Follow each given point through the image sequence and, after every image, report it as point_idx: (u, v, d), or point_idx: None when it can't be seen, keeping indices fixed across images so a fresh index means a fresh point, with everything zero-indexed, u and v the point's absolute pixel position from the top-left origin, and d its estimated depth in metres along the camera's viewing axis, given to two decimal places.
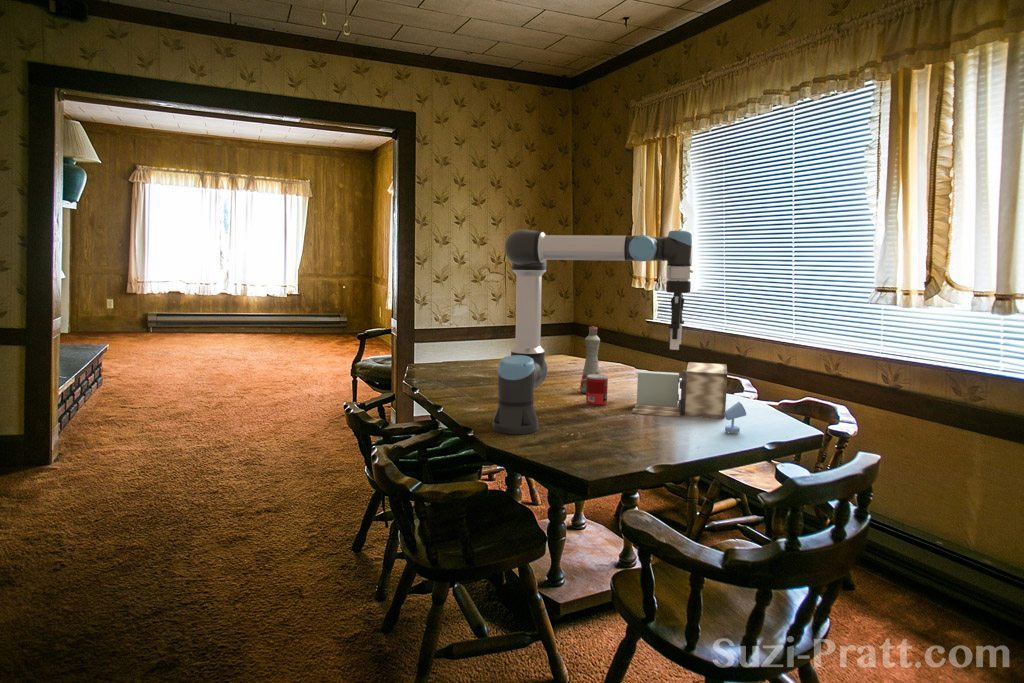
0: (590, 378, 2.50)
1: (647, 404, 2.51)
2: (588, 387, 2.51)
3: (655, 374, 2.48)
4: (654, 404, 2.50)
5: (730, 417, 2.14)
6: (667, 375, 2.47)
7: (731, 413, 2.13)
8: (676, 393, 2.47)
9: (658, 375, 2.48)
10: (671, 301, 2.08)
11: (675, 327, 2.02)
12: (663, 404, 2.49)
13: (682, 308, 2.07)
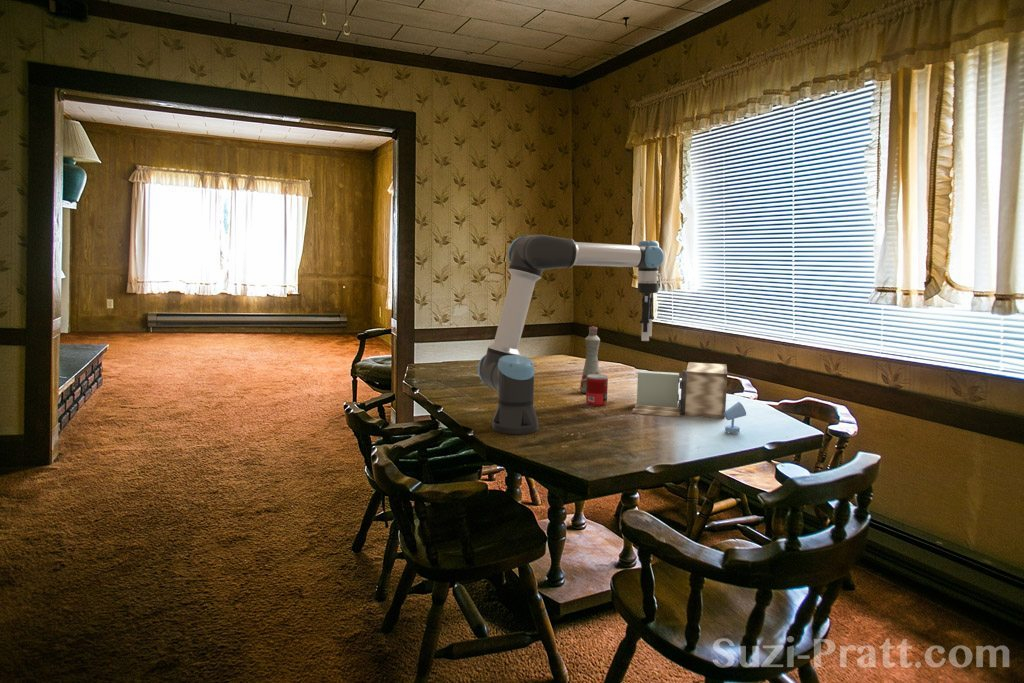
0: (590, 378, 2.50)
1: (647, 404, 2.51)
2: (588, 387, 2.51)
3: (655, 374, 2.48)
4: (654, 404, 2.50)
5: (730, 417, 2.14)
6: (667, 375, 2.47)
7: (731, 413, 2.13)
8: (676, 393, 2.47)
9: (658, 375, 2.48)
10: (642, 300, 2.47)
11: (645, 322, 2.41)
12: (663, 404, 2.49)
13: (651, 306, 2.46)
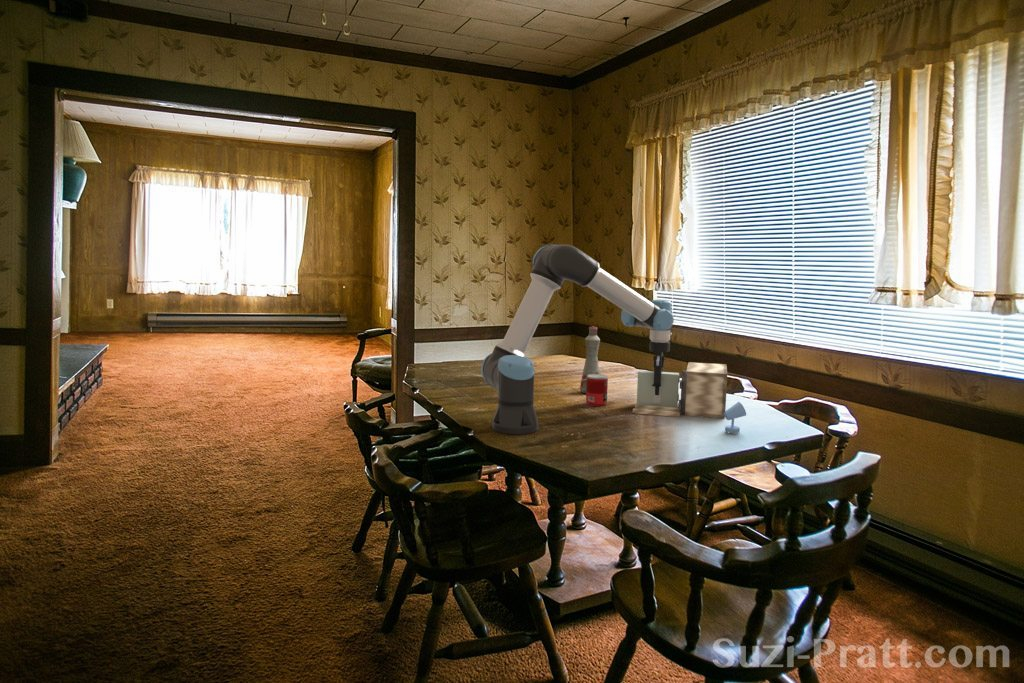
0: (590, 378, 2.50)
1: (647, 404, 2.51)
2: (588, 387, 2.51)
3: None
4: (654, 404, 2.50)
5: (730, 417, 2.14)
6: (667, 375, 2.47)
7: (731, 413, 2.13)
8: (676, 393, 2.47)
9: None
10: None
11: (657, 385, 2.46)
12: (663, 404, 2.49)
13: (663, 365, 2.48)
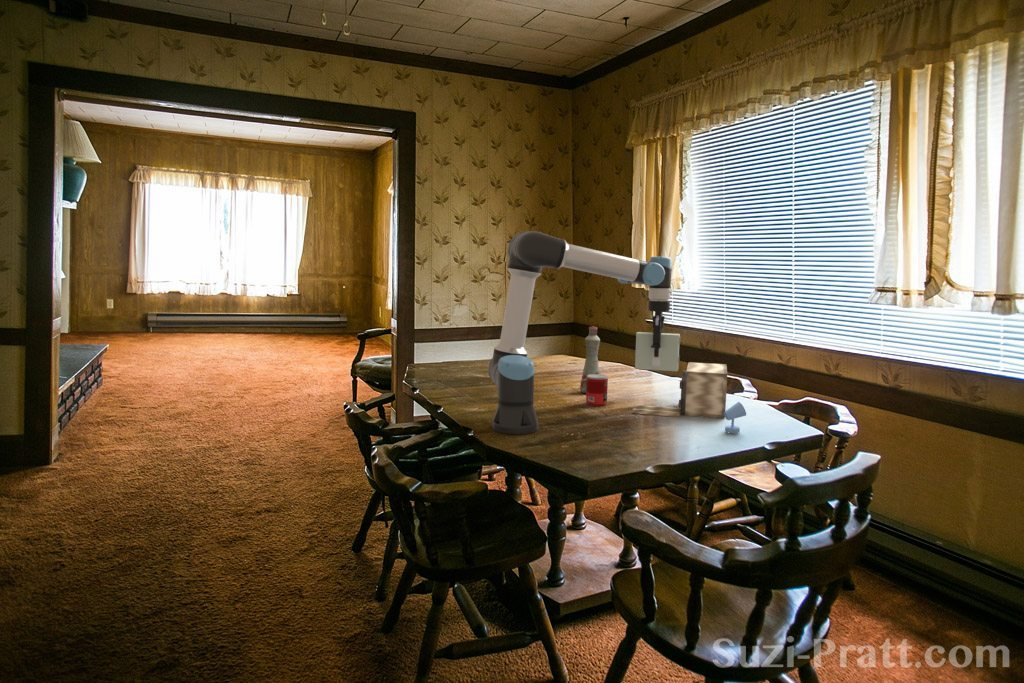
0: (590, 378, 2.50)
1: (646, 367, 2.38)
2: (588, 387, 2.51)
3: None
4: (653, 367, 2.37)
5: (730, 417, 2.14)
6: (667, 336, 2.35)
7: (731, 413, 2.13)
8: (676, 354, 2.35)
9: None
10: None
11: (656, 346, 2.33)
12: (663, 366, 2.36)
13: (662, 325, 2.35)
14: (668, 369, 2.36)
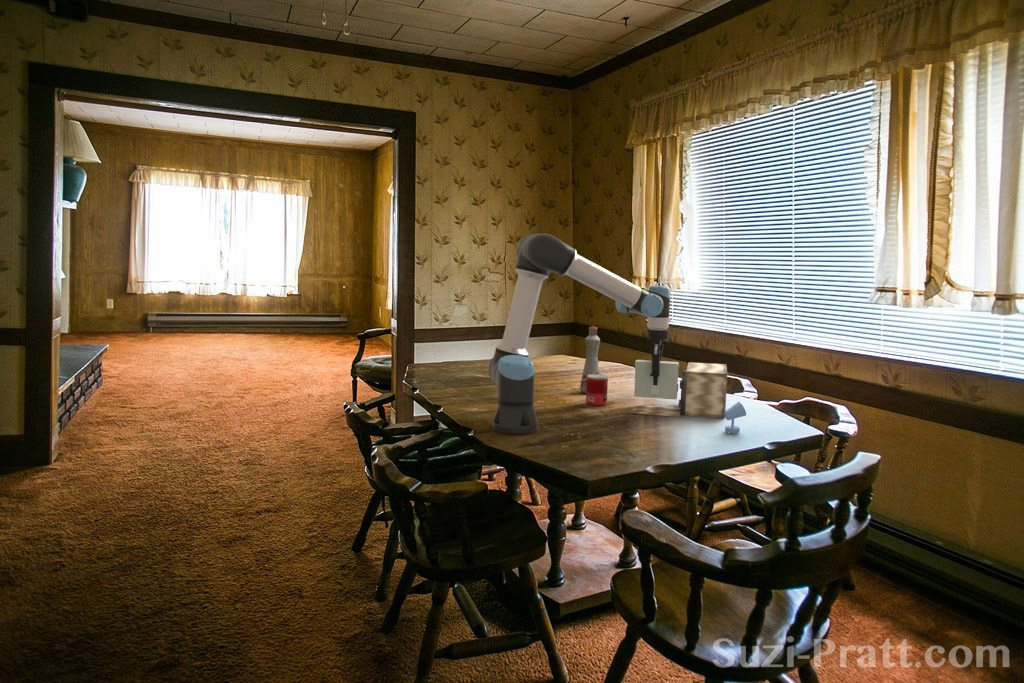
0: (590, 378, 2.50)
1: (645, 395, 2.40)
2: (588, 387, 2.51)
3: None
4: (652, 395, 2.39)
5: (730, 417, 2.14)
6: (666, 364, 2.36)
7: (731, 413, 2.13)
8: (675, 383, 2.36)
9: None
10: (651, 348, 2.37)
11: (655, 375, 2.35)
12: (662, 395, 2.38)
13: (661, 354, 2.37)
14: (667, 397, 2.37)
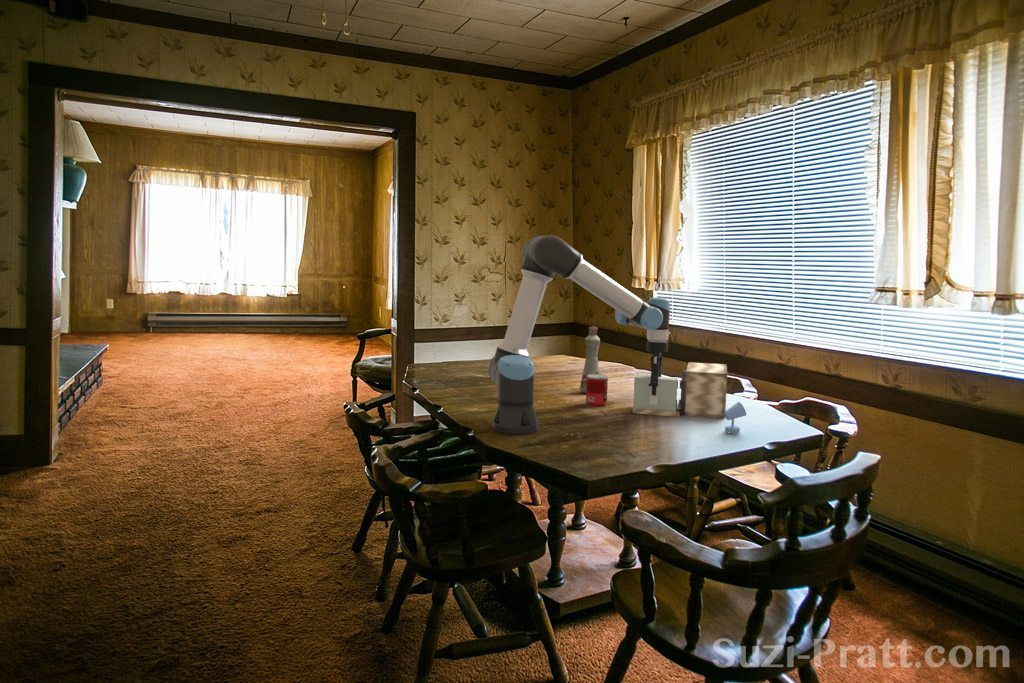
0: (590, 378, 2.50)
1: None
2: (588, 387, 2.51)
3: None
4: None
5: (730, 417, 2.14)
6: (665, 380, 2.37)
7: (731, 413, 2.13)
8: (674, 399, 2.37)
9: None
10: (651, 360, 2.37)
11: (654, 385, 2.32)
12: None
13: (660, 366, 2.36)
14: None
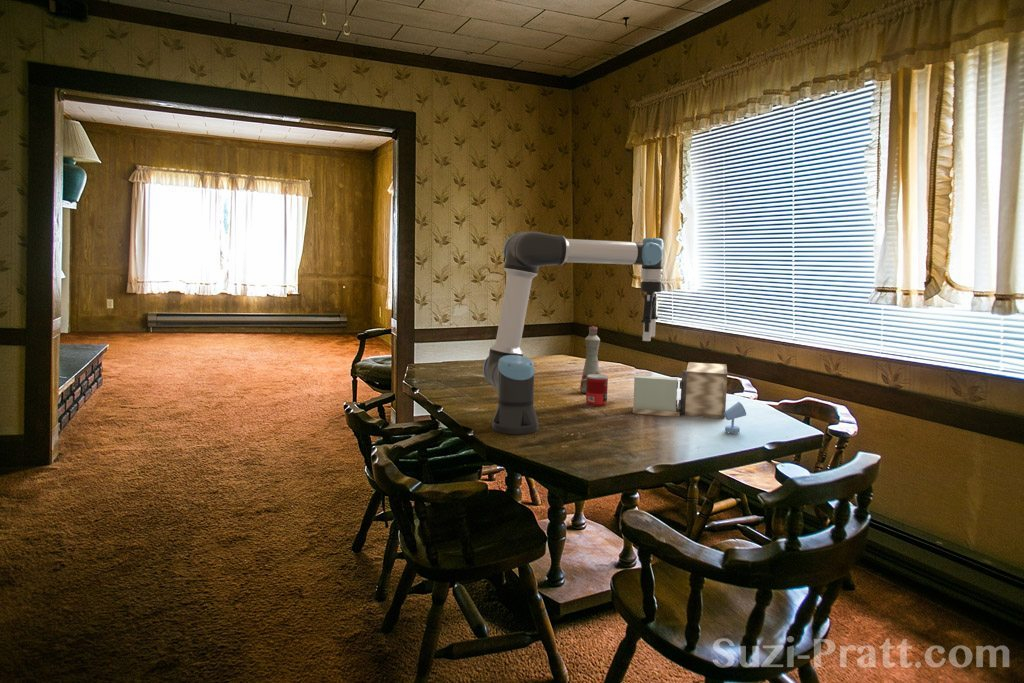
0: (590, 378, 2.50)
1: None
2: (588, 387, 2.51)
3: (652, 379, 2.38)
4: None
5: (730, 417, 2.14)
6: (665, 380, 2.37)
7: (731, 413, 2.13)
8: (674, 399, 2.37)
9: (655, 380, 2.38)
10: None
11: (647, 321, 2.34)
12: None
13: (654, 305, 2.39)
14: None
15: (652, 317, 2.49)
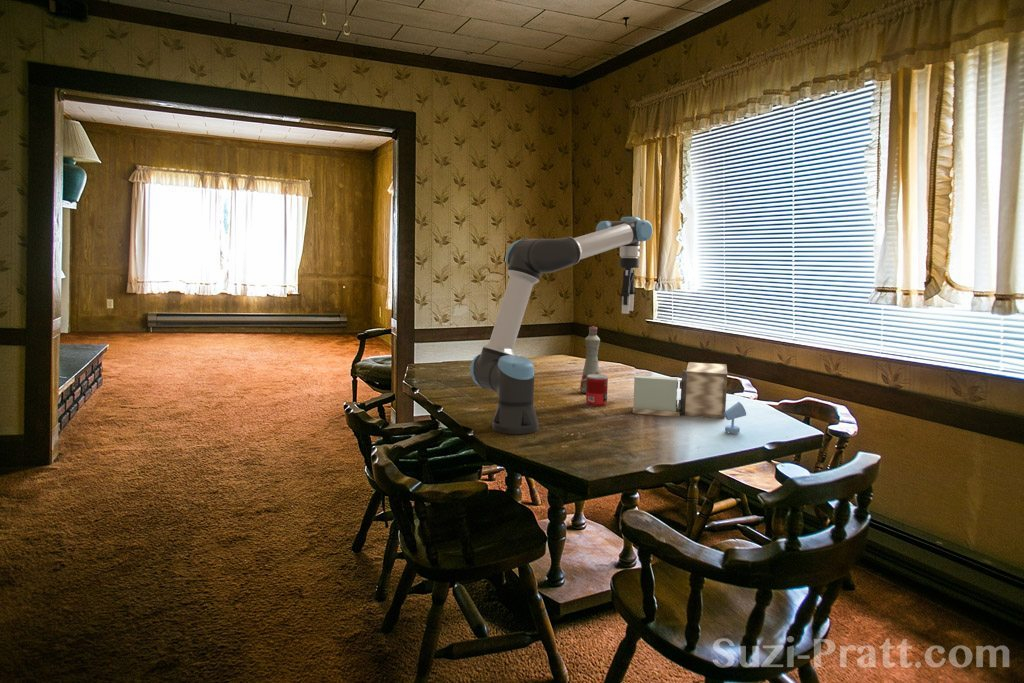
0: (590, 378, 2.50)
1: None
2: (588, 387, 2.51)
3: (652, 379, 2.38)
4: None
5: (730, 417, 2.14)
6: (665, 380, 2.37)
7: (731, 413, 2.13)
8: (674, 399, 2.37)
9: (655, 380, 2.38)
10: None
11: (625, 295, 2.49)
12: None
13: (632, 280, 2.54)
14: None
15: (630, 292, 2.65)
